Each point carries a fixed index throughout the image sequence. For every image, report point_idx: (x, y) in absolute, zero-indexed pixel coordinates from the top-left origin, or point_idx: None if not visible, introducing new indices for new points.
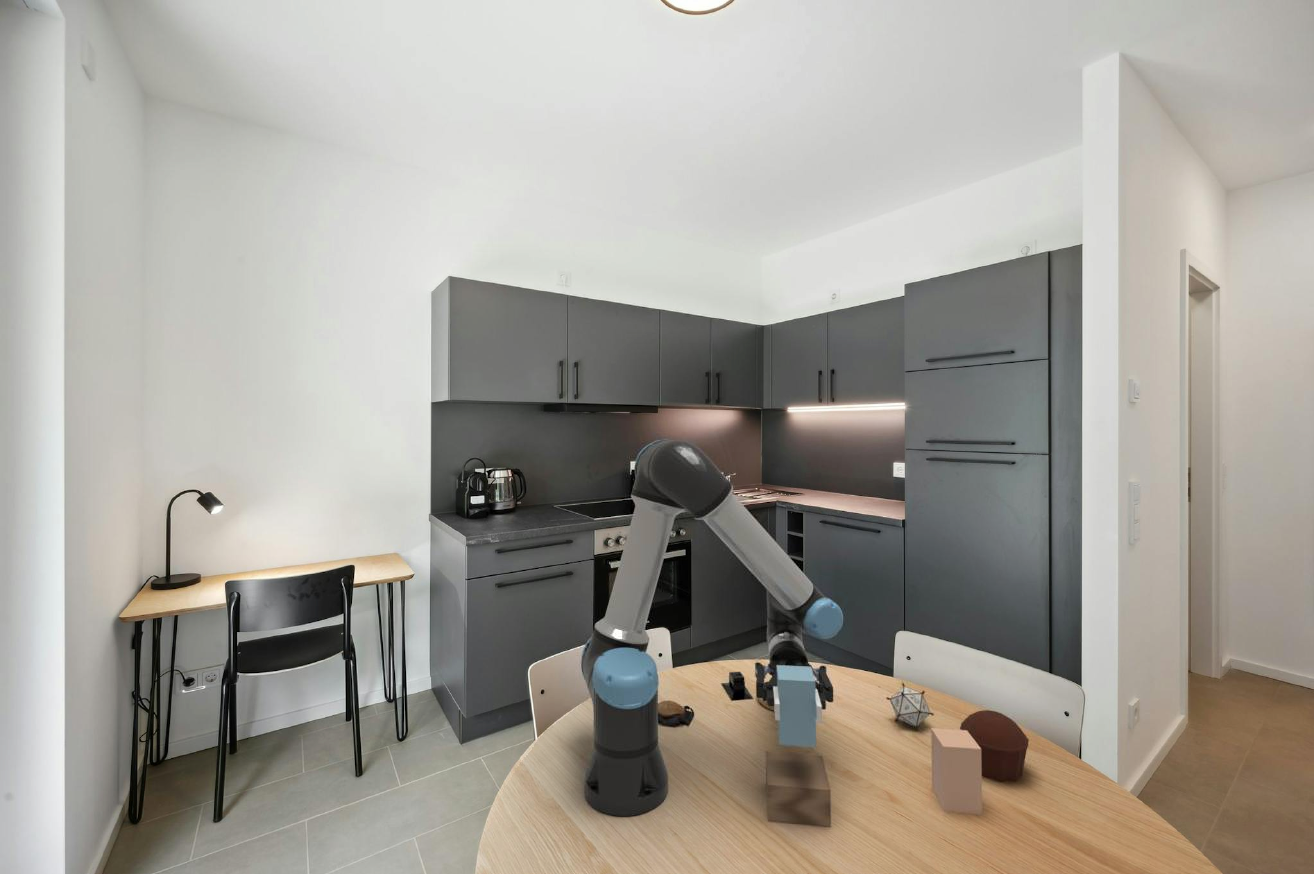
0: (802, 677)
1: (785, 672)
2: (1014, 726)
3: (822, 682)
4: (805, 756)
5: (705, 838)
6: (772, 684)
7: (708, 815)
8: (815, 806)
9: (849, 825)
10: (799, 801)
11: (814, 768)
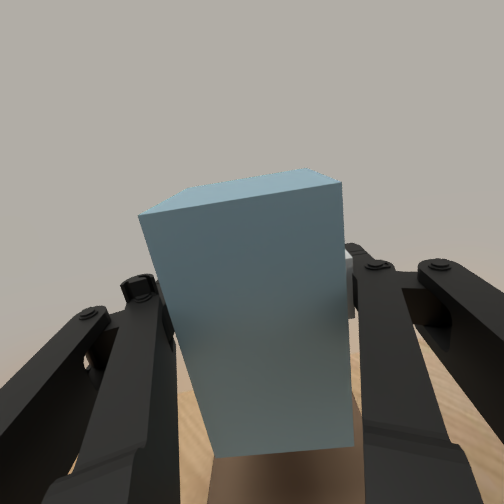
0: (221, 184)
1: (284, 178)
2: None
3: (55, 401)
4: None
5: (436, 375)
6: (365, 274)
7: (476, 428)
8: None
9: (200, 463)
10: None
11: (240, 480)
